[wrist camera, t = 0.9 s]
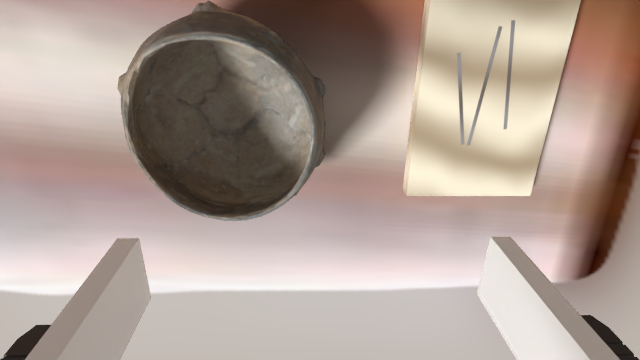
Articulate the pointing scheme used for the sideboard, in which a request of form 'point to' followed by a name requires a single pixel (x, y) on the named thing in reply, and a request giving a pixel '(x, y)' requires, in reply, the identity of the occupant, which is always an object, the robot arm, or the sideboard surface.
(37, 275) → the sideboard surface
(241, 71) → the bowl
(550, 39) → the board
